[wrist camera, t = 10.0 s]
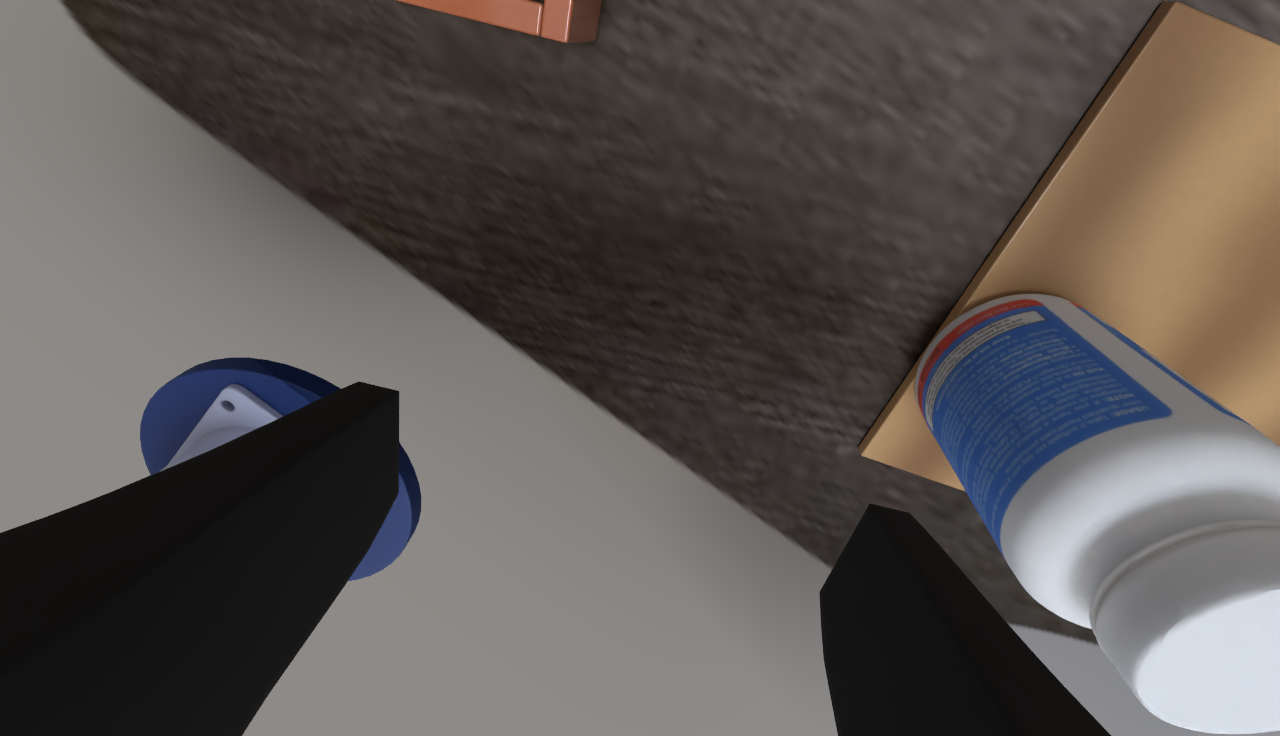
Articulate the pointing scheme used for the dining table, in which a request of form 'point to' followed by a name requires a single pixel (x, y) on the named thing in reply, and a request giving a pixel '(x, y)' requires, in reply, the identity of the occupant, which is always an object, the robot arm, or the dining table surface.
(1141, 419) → the pill bottle
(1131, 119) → the mat
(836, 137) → the dining table surface
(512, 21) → the holder
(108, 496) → the robot arm
